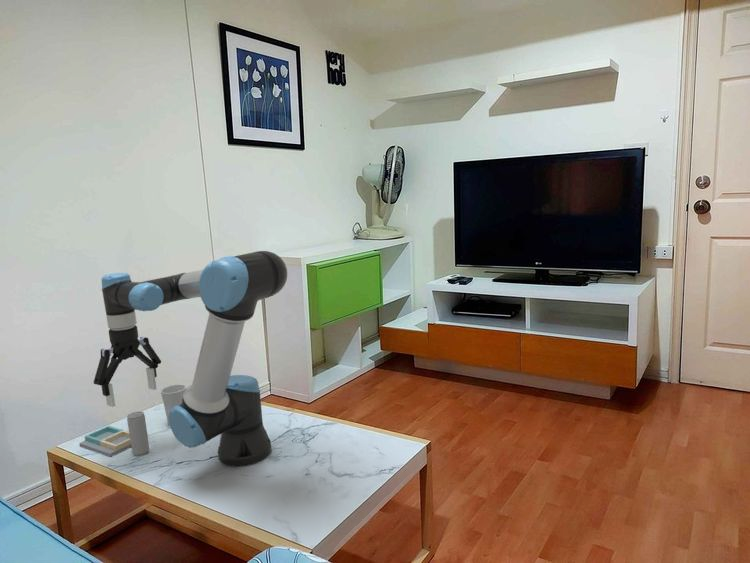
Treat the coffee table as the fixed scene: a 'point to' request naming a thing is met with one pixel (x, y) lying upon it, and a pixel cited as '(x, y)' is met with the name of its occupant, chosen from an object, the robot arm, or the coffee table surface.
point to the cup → (172, 397)
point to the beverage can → (138, 433)
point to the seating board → (107, 441)
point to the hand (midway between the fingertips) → (132, 396)
